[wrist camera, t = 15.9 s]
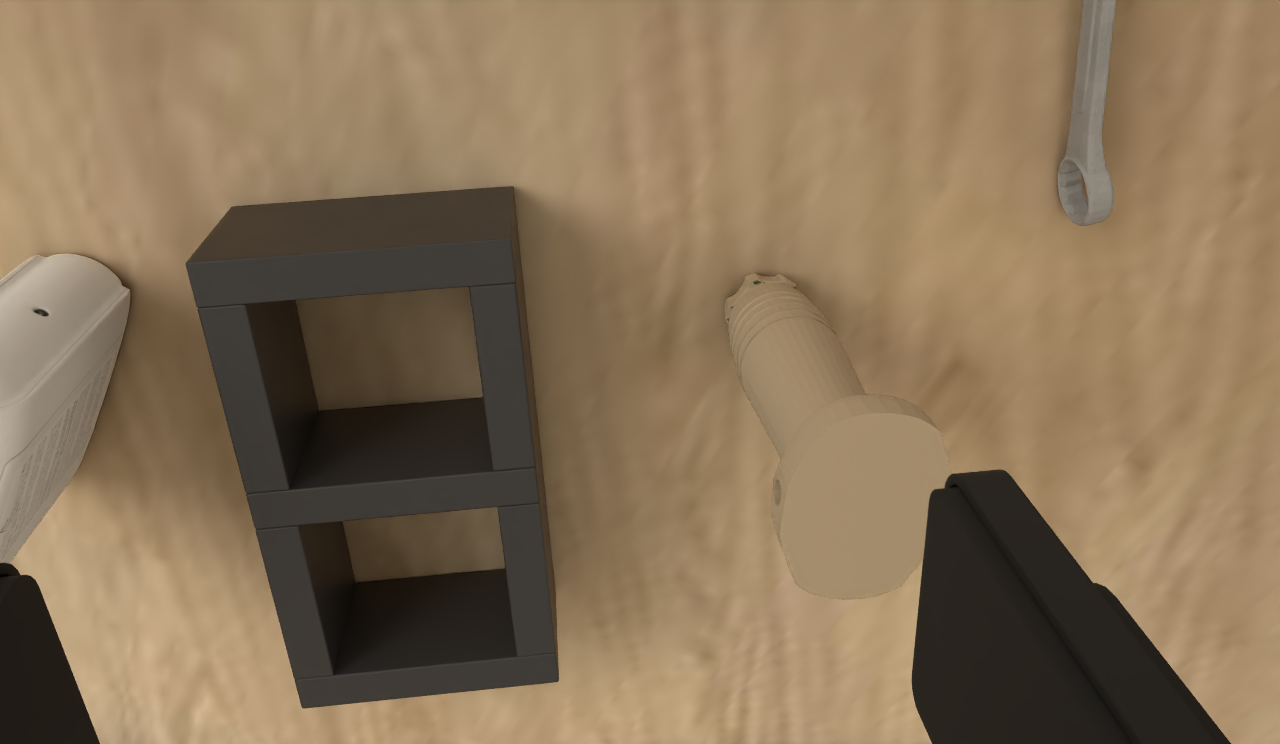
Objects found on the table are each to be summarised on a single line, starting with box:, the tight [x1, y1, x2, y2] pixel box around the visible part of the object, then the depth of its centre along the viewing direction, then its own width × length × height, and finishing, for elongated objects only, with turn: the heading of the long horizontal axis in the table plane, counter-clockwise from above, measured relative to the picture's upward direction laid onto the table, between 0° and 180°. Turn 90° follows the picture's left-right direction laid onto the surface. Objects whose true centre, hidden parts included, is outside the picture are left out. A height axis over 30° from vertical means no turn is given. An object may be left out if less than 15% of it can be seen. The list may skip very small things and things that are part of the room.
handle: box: [724, 273, 951, 600], centre depth 36 cm, size 5×6×15 cm
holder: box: [186, 186, 559, 708], centre depth 41 cm, size 20×11×6 cm, turn 3°
